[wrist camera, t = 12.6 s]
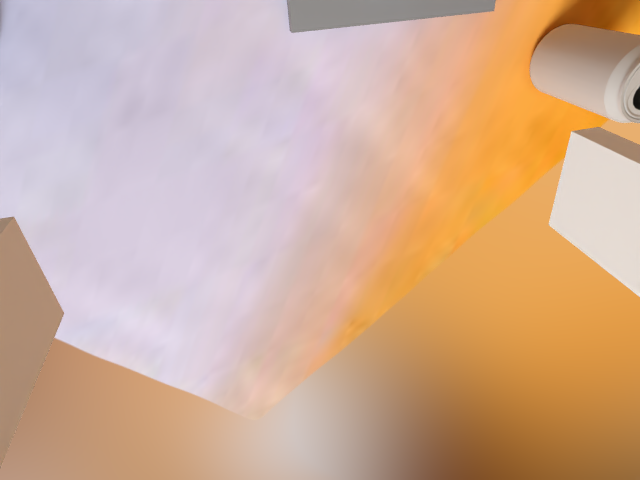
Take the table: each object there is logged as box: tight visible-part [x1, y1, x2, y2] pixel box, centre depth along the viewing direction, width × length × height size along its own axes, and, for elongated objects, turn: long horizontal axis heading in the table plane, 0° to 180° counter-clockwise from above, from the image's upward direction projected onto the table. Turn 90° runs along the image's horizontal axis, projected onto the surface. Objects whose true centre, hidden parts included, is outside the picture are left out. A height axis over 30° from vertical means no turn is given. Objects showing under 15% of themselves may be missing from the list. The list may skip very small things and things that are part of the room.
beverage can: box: [530, 24, 640, 123], centre depth 39 cm, size 6×6×12 cm
